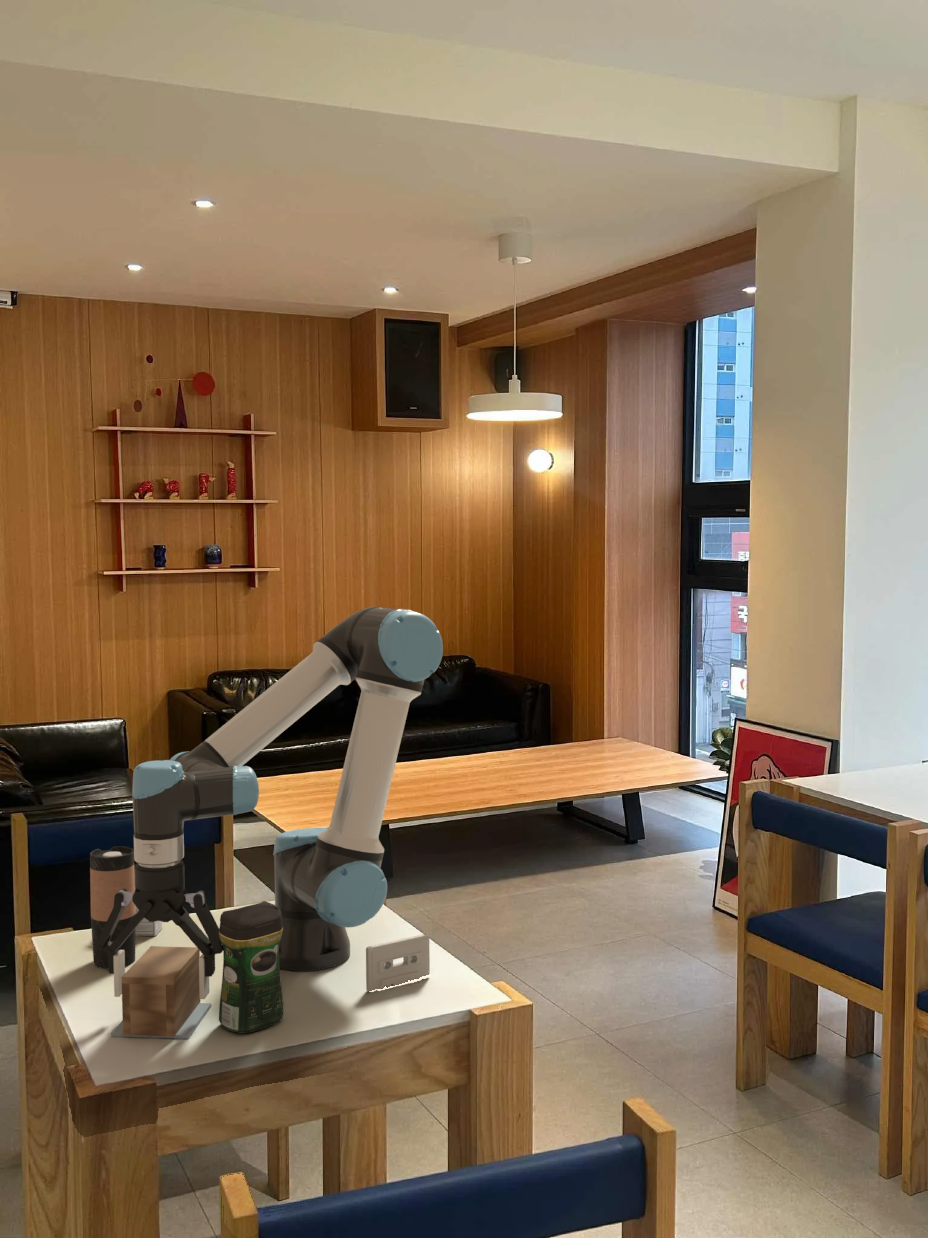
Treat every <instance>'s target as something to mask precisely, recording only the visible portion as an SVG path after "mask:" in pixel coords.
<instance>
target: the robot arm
mask: <svg viewBox="0 0 928 1238" xmlns="http://www.w3.org/2000/svg"><path fill="white" fill-rule="evenodd" d="M312 645H313V647H312V652H311V653H310V654H309V655H308V656H305V658H303V659H302V660H301V661H300V662H299V663H298V664H297V665H295V666H294V667H293V668H292V669H290V670H289V671H288V672H286V674H284V675H283V676H282V677H280V678H279V679H278V680H277V681H276V682H275V683H273V684H272V685H271V686H270V687H268V688H267V689H266V690H265V691H263V692H262V693H261V694H260V695H258V696H257V697H256V698H254V700H253V701H251V702H250V703H249V704H248V705H247V706H245V707H244V708H243V709H241V710H240V711H239V712H238V713H236V714H235V715H234V716H233V717H232V718H230V719H229V720H228V721H227V722H225V724H223V725H222V726H221V727H220V728H218V729H217V730H216V731H214V732H213V733H212V734H211V735H210V736H208V737H207V738H206V739H205V740H204V741H202V742H201V743H199V745H197V746H195V748H193V749H192V750H191V751H181V752H178V753H176V754H175V755H173V756H172V757H171V758H170V759H164V760H149V761H145V762H142V763H139V764H138V765H136V767H135V768H134V770H133V773H132V792H131V797H132V810H133V811H132V815H133V851H134V862H136V864H134V875H135V892H134V893H133V892H127V890H126V889H121V890H120V891H119V892H118V893H117V894H116V895H115V897H114V907H113V909H112V911H111V914H110V916H109V918H108V920H107V922H106V924H105V926H104V928H103V930H102V933H101V935H100V937H99V939H98V941H97V943H96V945H95V948H96V950H98V951H100V950H102V951H104V952H106V953H107V955H108V969H107V971H108V974H109V975H113V988H114V989H113V991H114V992H113V993H114V997H115V998H117V997H118V998H120V996H122V976H123V975H124V974H125V973H126V966H125V950H119V948H120V946H121V945H122V944H123V943H124V942H125V940H126V939H127V938H128V937H129V936H130V934H131V933H132V932H133V931H134V930H135V928H136V927H137V926H138V925H139V924H140V922H141V921H142V920H143V919H144V918H145V919H147V920H149V922H155V921H161V922H162V923H169V922H170V921H172V922H173V924H175V925H176V926H178V927H179V928H180V929H181V930H182V931H183V932H184V934H185V935H186V936H187V937H188V938H189V939H190V941H191V942H192V943H193V944H194V946H195V947H197V948H198V949H199V950H200V954H201V955H200V958H199V991H200V1000H205V999H206V998H207V996H208V995H209V994H210V977H213V975H214V974H215V972H216V955H217V954H218V955H220V954H222V953H223V945H222V943H221V940H220V937H219V928H220V926H218V924H217V922H216V920H215V917H214V915H213V913H212V912H211V909H210V908H209V906H208V904H207V897H206V892H205V891H204V890H203V889H202V890H201V889H200V890H198V891H197V892H194V893H193V892H192V893H187V891H186V887H185V884H186V883H185V881H186V879H185V876H186V875H185V862H184V861H183V860H182V859H183V858H184V857H185V843H184V842H185V840H184V836H185V835H184V833H185V831H184V830H185V829H184V824H185V822H186V821H193V820H201V819H208V818H216V817H225V816H237V815H239V814H245V813H248V812H252V811H253V810H254V809H256V807H257V805H258V802H259V797H260V791H259V790H260V787H259V786H260V785H259V781H258V777H257V775H256V772H255V770H254V769H253V768H252V767H250V766H248V765H245V764H247V763H248V762H249V761H250V760H251V759H252V758H254V756H257V755H258V753H259V752H260V751H262V750H263V749H264V748H266V746H268V745H269V744H270V743H272V742H273V741H274V740H275V739H276V738H277V737H279V736H280V735H281V734H282V733H283V732H284V731H286V730H287V729H288V728H289V727H291V726H292V725H293V724H294V723H295V722H297V721H298V720H299V719H300V718H301V717H303V716H304V715H305V714H306V713H307V712H309V711H310V710H311V709H312V708H313V707H314V706H316V705H317V704H318V703H319V702H321V701H322V700H323V699H325V697H326V696H328V695H329V694H330V693H331V692H333V691H334V690H335V689H336V688H338V686H340V685H343V686H348V685H350V684H351V683H352V682H354V681H356V683H357V685H358V686H359V688H360V690H361V692H360V694H359V695H360V696H359V700H358V705H357V707H356V713H355V717H354V721H353V726H352V730H351V732H350V738H349V743H348V747H347V751H346V754H345V760H344V763H343V767H342V771H341V777H340V780H339V783H338V788H337V793H336V797H335V801H334V805H333V810H332V814H331V818H330V823H329V826H328V827H310V828H309V827H308V828H300V829H293V830H288V831H284V832H282V833H280V834H278V835H277V836H276V837H275V839H274V844H273V845H274V848H273V852H272V855H273V868H274V869H273V873H274V875H273V876H274V880H273V881H274V905H276V906H278V907H279V909H280V911H281V915H282V924H283V933H282V936H281V940H280V945H279V965H280V970H281V969H282V970H285V971H286V970H287V971H296V972H308V971H319V970H325V969H329V968H333V967H335V966H338V965H341V964H343V963H345V962H346V961H347V960H348V959H349V957H350V956H351V942H350V939H349V935H348V932H347V928H355V927H359V926H361V925H362V926H363V925H364V924H365V923H367V922H368V921H369V920H371V919H373V918H374V917H375V916H376V915H377V914H378V913H379V911H380V910H381V908H383V905H384V903H385V902H386V901H385V900H386V898H387V894H388V881H387V878H386V877H385V874H384V872H383V870H382V869H381V868H382V863H383V859H384V858H383V857H384V854H385V848H384V846H383V845H382V843H381V841H380V839H379V835H380V832H381V828H382V823H383V819H384V815H385V811H386V808H387V807H386V806H387V802H388V797H389V794H390V789H391V784H392V781H393V776H394V774H395V773H394V772H395V767H396V764H397V759H398V754H399V750H400V746H401V743H402V737H403V733H404V730H405V725H406V722H407V721H406V720H407V717H408V712H409V708H410V703H411V702H412V701H413V700H414V699H416V698H418V697H419V696H421V694H422V691H423V687H424V683H425V680H426V679H427V678H429V677H431V675H432V674H434V673H435V672H436V671H437V669H438V668H439V666H440V664H441V662H442V658H443V652H444V645H443V638H442V636H441V633H440V630H438V627H437V626H436V624H435V622H433V621H432V620H431V618H429V617H428V616H426V615H425V614H422V613H420V612H417V611H414V610H411V609H404V608H391V607H390V608H389V607H381V606H370V607H369V606H368V607H365V608H363V609H360V610H358V611H356V612H353V614H350V615H349V616H347V618H344V619H343V620H342V621H341V622H339V623H338V624H337V625H336V626H333V628H331V629H330V630H329V631H328V632H326V633H325V634H324V635H323V636H321V637H320V638H319V639H318V640H316V641H315V642H314V643H313V644H312ZM130 901H133V903H134V904H135V906H136V907H137V908H138V910H139V911H138V912H137V914H136V915H135V916H134V917H133V918H132V920H131V921H130V922H129V923H128V925H127V926H126V927H125V928H124V929H123V931H122V932H121V933H120V934H119V935H118V937H117V938H116V939H115V940H114V941H113V942H111V941H109V940H110V938H111V936H112V934H113V932H114V930H115V928H116V926H117V924H118V922H119V919H120V917H121V915H122V913H123V911H124V909H125V907H126V906H127V905H128V904H129V903H130ZM186 903H188V904H190V907H191V908H193V909H194V912H195V915H196V917H197V919H198V921H199V922H200V925H201V926H202V929H203V930H204V931H203V930H202V929H201V928H200V926H199V925H198V924H197V923H196V922H195V921H194V919H192V917H191V916H190V913H189V912H188V910H187V909H186V908H185V907H184V906H185V904H186ZM204 932H205V933H204Z"/></svg>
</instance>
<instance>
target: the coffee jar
mask: <svg viewBox="0 0 928 1238" xmlns="http://www.w3.org/2000/svg"><path fill="white" fill-rule="evenodd" d="M282 933H283V924H282V915H281V911H280V909H279V907H278V906H276V905H275V903H274V904H273V903H271V902H268V901H266V900H263V901H261V902H257V903H254V904H251V905H246V906H243V907H239V908H235V909H234V908H233V909H230V910H224V911H223V912H222V913H221V914H220V917H219V937H220V940H221V943H222V945H223V951H222V953H223V956H222V958H223V959H222V960H223V964H222V965H223V966H222V980H221V988H220V998H219V1007H218V1008H219V1010H218V1011H219V1012H218V1020H219V1024H221V1026H222V1027H224V1029H226V1030H227V1031H229V1032H234V1033H240V1034H249V1033H254V1032H256V1031H259V1030H263V1029H265V1028H269V1027H270V1026H273V1025H276V1024H278V1023H279V1022H281V1020H283V1018H284V999H283V991H282V980H281V968H280V965H279V945H280V940H281V936H282Z"/></svg>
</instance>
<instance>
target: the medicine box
mask: <svg viewBox="0 0 928 1238" xmlns="http://www.w3.org/2000/svg"><path fill="white" fill-rule="evenodd" d="M138 911H139V910H138V908H137V907H136V914H137V912H138ZM162 929H163V922H161V921H155V922H149V920H147V919H145V918H144V919H143V920H142V921H141V922H140V924H139V925H138V926H137V927H136V937H156V936H157V935H158V934H159V933H160V931H162Z"/></svg>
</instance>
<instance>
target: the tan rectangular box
mask: <svg viewBox="0 0 928 1238" xmlns="http://www.w3.org/2000/svg"><path fill="white" fill-rule="evenodd" d="M200 954H201V951H200V950H199V949H198V948H197V947H196V946H195V947H193V946H192V947H191V946H190V947H189V946H159V945H157V946H155V945H154V946H153V945H151V946H150V947H149V948H148V949H147V950H146V951H145V952H144V953H143V954H142V955H141V956H140V957H139V958H138V959H137V960H135V963H134V964H132V965H131V967H130V968H129V969H128V970H126V971H125V974H124V975H123V976H122V994H121V1003H122V1005H121V1006H122V1008H121V1009H122V1010H121V1011H122V1020H123V1035H145V1036H175V1035H176V1034H177V1033H178V1031H179V1030H180V1029H181V1027H182V1026H183V1025H184V1023H185V1022H186V1020H187V1019H188V1018H189V1016H190V1015H191V1014H192V1012H193V1011H194V1010H195V1008H196V1007H197V1006H198V1004H199V1003H202V1002H201V1000H202V999H200V991H199V958H200V956H201V955H200Z"/></svg>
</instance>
